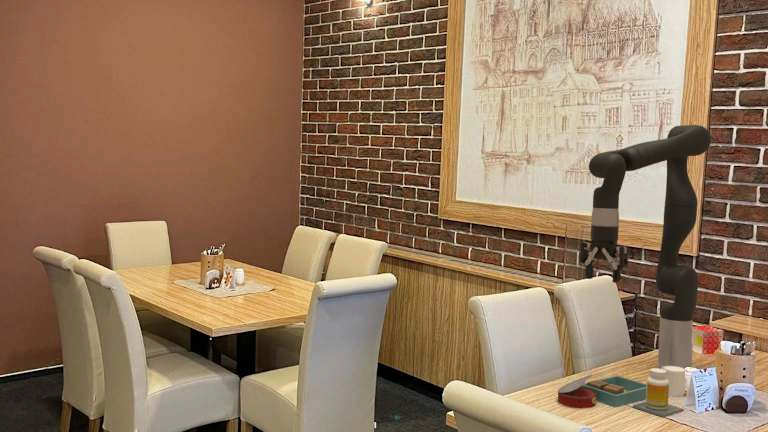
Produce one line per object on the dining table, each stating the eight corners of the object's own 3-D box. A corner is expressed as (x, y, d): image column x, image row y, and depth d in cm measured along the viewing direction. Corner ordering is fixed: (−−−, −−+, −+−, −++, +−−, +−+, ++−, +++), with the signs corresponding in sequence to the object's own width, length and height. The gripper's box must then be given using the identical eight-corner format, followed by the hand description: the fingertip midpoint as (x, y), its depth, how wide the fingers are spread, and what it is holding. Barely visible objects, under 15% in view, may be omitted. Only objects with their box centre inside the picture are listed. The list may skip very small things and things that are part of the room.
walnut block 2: (609, 398, 203) (610, 383, 202) (623, 401, 200) (624, 387, 200) (602, 401, 200) (603, 387, 200) (616, 405, 197) (617, 390, 197)
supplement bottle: (669, 411, 191) (671, 373, 190) (647, 409, 192) (649, 372, 191) (665, 404, 196) (667, 368, 195) (644, 402, 197) (646, 366, 197)
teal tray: (616, 385, 214) (616, 375, 214) (652, 396, 204) (653, 386, 204) (579, 394, 205) (579, 384, 205) (615, 407, 195) (616, 396, 195)
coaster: (653, 401, 200) (653, 399, 200) (683, 411, 193) (683, 408, 193) (632, 407, 195) (632, 405, 195) (662, 417, 188) (663, 415, 188)
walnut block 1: (596, 394, 206) (596, 379, 206) (608, 397, 203) (608, 383, 203) (586, 396, 204) (587, 382, 204) (598, 400, 201) (599, 385, 200)
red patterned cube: (687, 348, 259) (688, 326, 259) (706, 347, 261) (707, 325, 261) (702, 354, 252) (703, 331, 251) (722, 353, 253) (723, 330, 253)
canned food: (579, 426, 194) (569, 396, 190) (554, 410, 203) (544, 381, 199) (610, 402, 198) (601, 372, 194) (584, 387, 206) (575, 359, 203)
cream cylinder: (687, 391, 210) (688, 367, 209) (685, 398, 204) (687, 373, 203) (661, 387, 213) (662, 363, 212) (659, 394, 207) (660, 369, 206)
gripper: (634, 225, 209) (632, 282, 210) (590, 221, 220) (588, 276, 221) (619, 226, 204) (617, 285, 206) (575, 222, 215) (573, 278, 216)
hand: (602, 280), depth 213 cm, fingers open, 8 cm apart
